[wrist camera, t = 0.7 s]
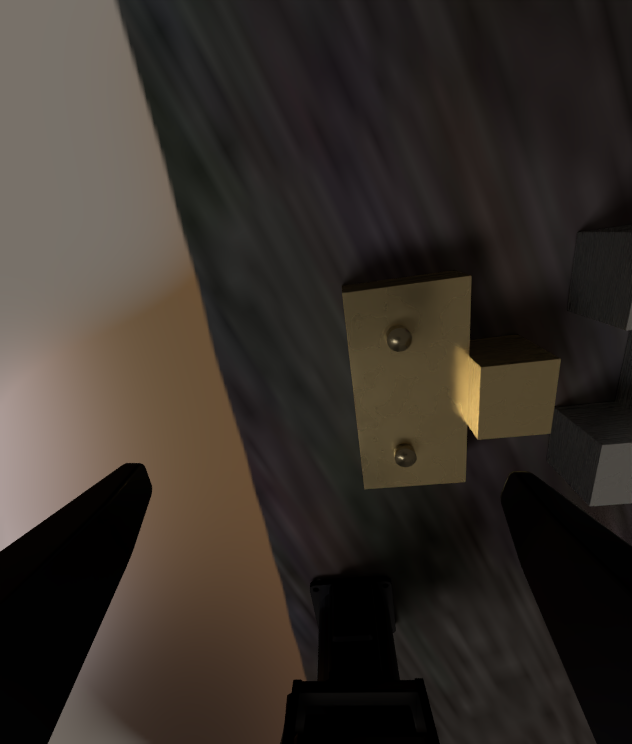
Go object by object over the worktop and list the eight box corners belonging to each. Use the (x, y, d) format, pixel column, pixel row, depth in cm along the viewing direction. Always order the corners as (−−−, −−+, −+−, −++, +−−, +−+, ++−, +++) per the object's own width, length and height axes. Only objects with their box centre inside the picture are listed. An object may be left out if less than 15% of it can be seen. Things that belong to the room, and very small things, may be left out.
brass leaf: (507, 451, 22) (542, 495, 18) (361, 463, 23) (366, 507, 19) (523, 260, 18) (573, 268, 14) (341, 285, 19) (342, 299, 15)
